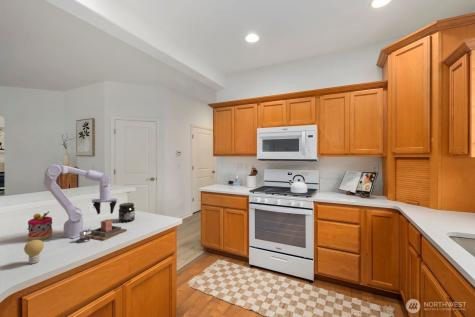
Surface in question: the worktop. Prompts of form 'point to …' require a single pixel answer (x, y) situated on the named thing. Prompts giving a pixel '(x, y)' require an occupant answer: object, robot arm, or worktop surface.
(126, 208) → the supplement container
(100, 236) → the holder board
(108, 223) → the plug block
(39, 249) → the light bulb
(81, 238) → the metal door knob
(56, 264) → the worktop surface
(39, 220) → the cake
